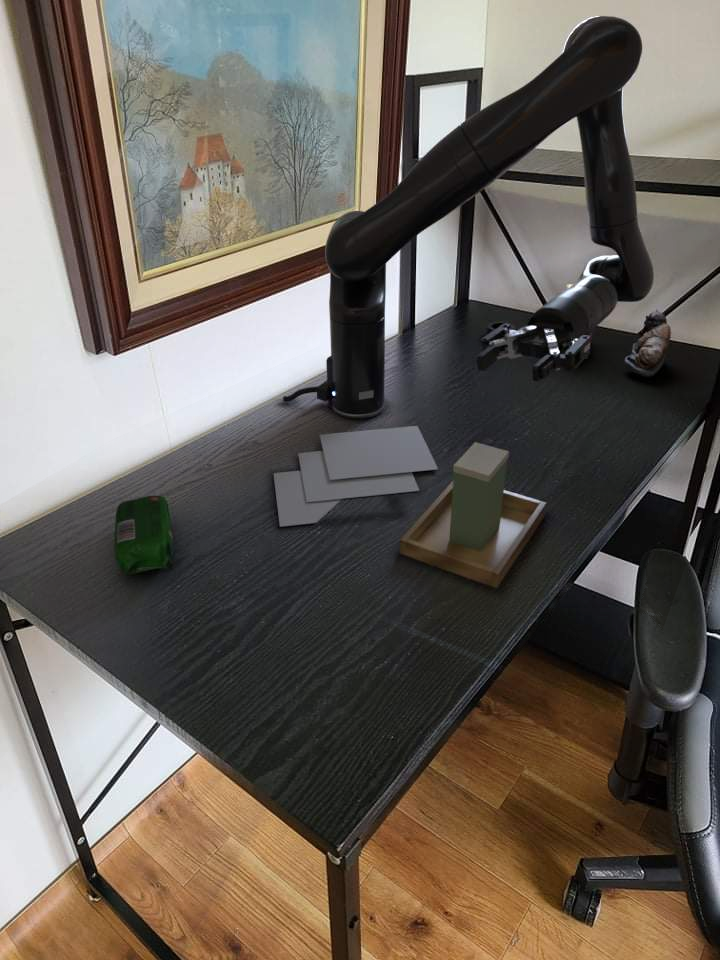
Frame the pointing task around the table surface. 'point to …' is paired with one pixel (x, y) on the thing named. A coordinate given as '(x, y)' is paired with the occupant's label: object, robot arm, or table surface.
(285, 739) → the table surface
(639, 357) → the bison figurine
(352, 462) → the paper stack
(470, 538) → the green lidded canister
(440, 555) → the desk tray
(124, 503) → the snack package
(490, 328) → the duct tape
